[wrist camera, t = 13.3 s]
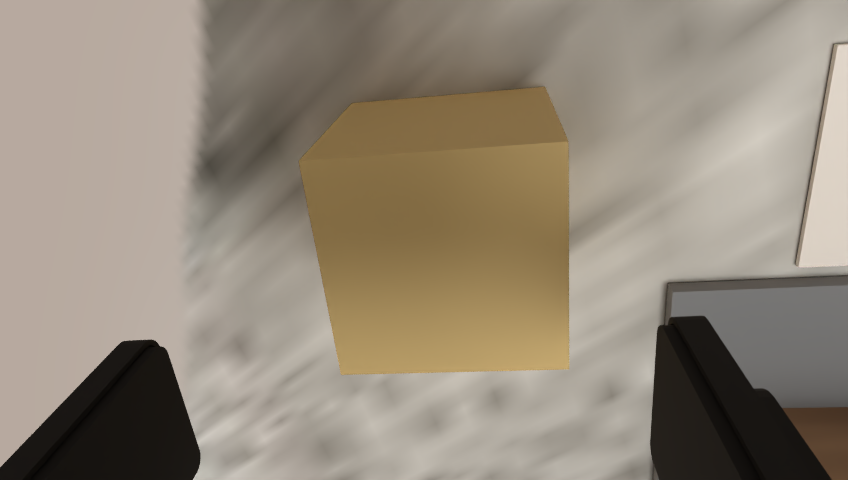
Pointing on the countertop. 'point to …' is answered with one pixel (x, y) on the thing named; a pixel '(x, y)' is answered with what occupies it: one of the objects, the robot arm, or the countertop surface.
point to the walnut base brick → (825, 436)
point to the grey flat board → (778, 333)
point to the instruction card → (829, 177)
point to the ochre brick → (444, 233)
